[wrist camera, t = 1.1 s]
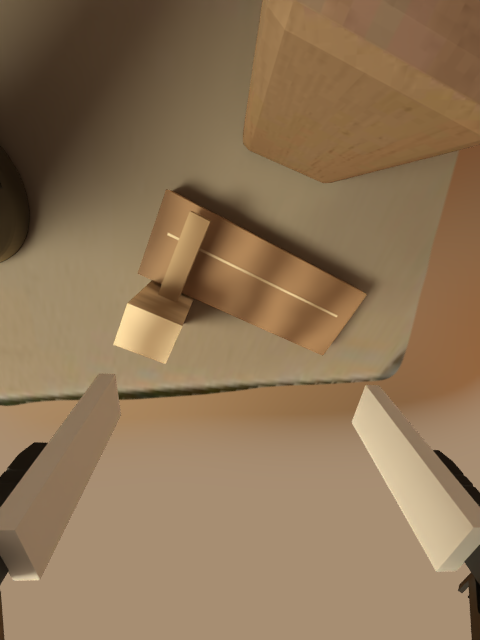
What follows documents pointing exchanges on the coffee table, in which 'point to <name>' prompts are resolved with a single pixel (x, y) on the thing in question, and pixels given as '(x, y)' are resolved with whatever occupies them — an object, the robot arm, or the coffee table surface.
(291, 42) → the wooden block
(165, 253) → the board
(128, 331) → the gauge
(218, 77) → the coffee table surface
